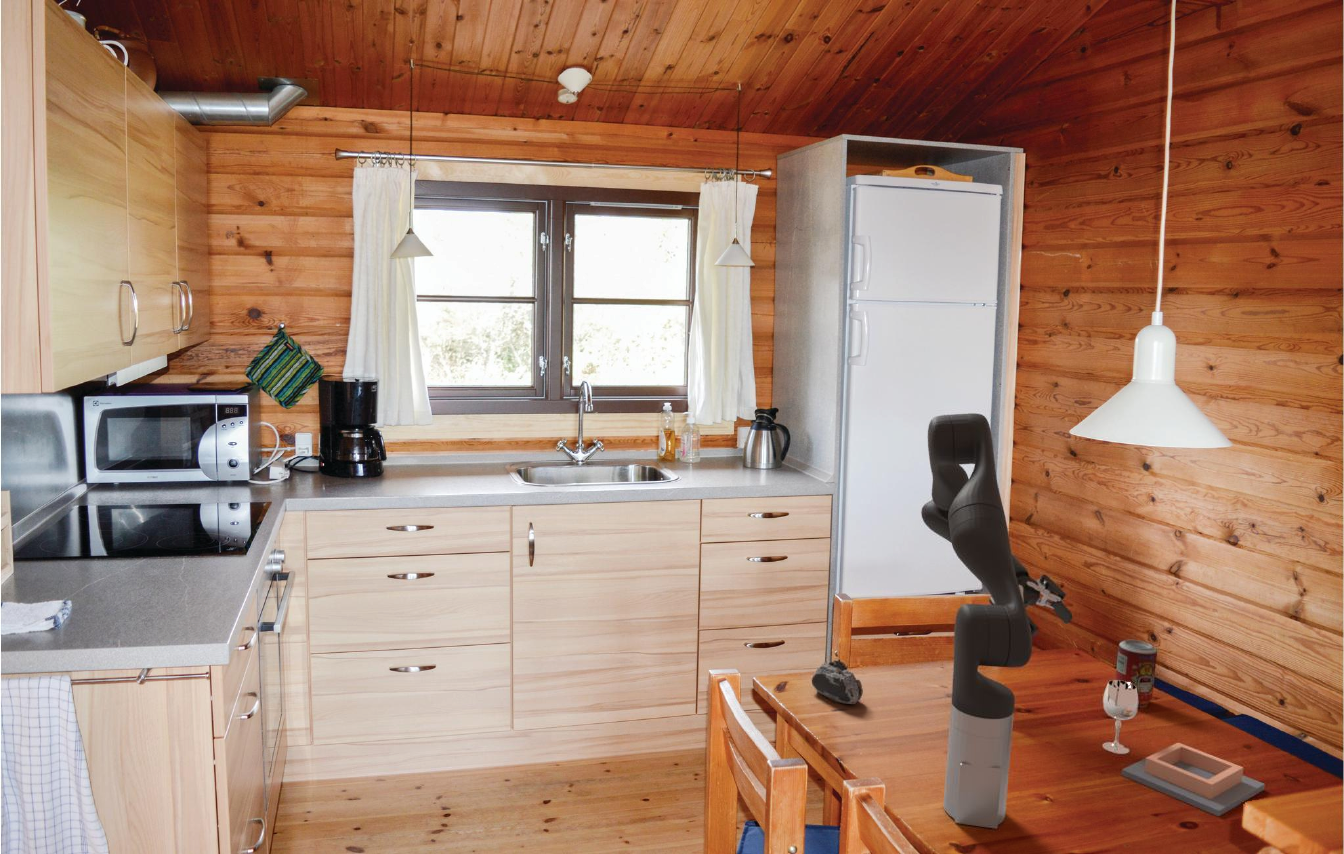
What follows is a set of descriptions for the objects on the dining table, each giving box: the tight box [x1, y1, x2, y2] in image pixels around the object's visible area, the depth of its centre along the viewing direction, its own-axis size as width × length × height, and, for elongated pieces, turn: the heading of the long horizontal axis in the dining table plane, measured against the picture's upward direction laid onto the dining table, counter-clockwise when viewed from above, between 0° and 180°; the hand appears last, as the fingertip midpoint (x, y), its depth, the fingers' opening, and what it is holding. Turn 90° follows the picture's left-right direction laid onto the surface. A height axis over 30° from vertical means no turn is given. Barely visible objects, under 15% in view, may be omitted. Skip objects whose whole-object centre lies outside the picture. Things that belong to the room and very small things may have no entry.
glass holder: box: [1121, 742, 1266, 817], centre depth 165 cm, size 16×16×4 cm
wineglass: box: [1102, 679, 1139, 755], centre depth 177 cm, size 6×6×12 cm
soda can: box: [1114, 638, 1158, 709], centre depth 198 cm, size 7×7×12 cm
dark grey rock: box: [811, 659, 864, 705], centre depth 196 cm, size 12×7×10 cm
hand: (1053, 626), depth 184 cm, fingers open, 8 cm apart
